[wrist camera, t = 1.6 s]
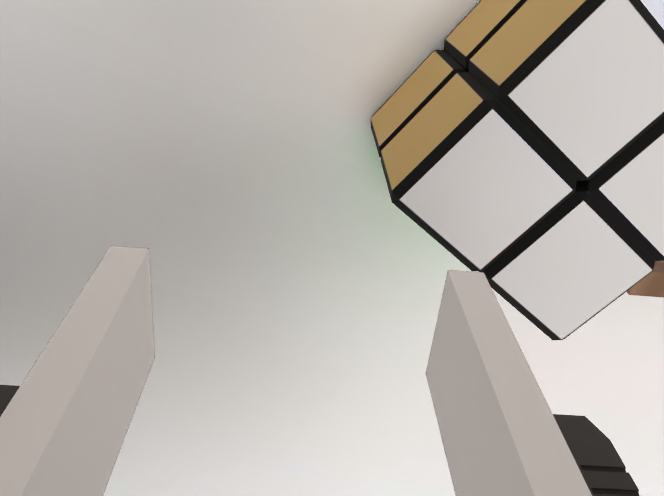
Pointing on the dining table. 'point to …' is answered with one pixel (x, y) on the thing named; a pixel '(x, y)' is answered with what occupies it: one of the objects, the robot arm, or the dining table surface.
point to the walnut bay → (651, 283)
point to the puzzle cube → (538, 152)
